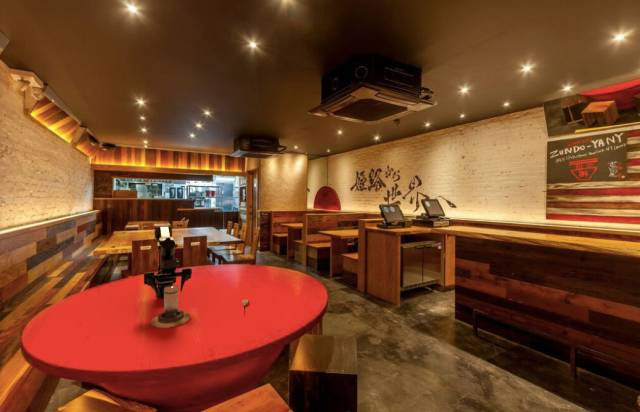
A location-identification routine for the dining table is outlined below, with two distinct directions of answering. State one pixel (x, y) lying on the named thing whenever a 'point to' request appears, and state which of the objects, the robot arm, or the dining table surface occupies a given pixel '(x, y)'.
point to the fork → (245, 302)
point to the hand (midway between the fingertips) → (169, 293)
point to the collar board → (160, 325)
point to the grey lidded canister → (170, 301)
